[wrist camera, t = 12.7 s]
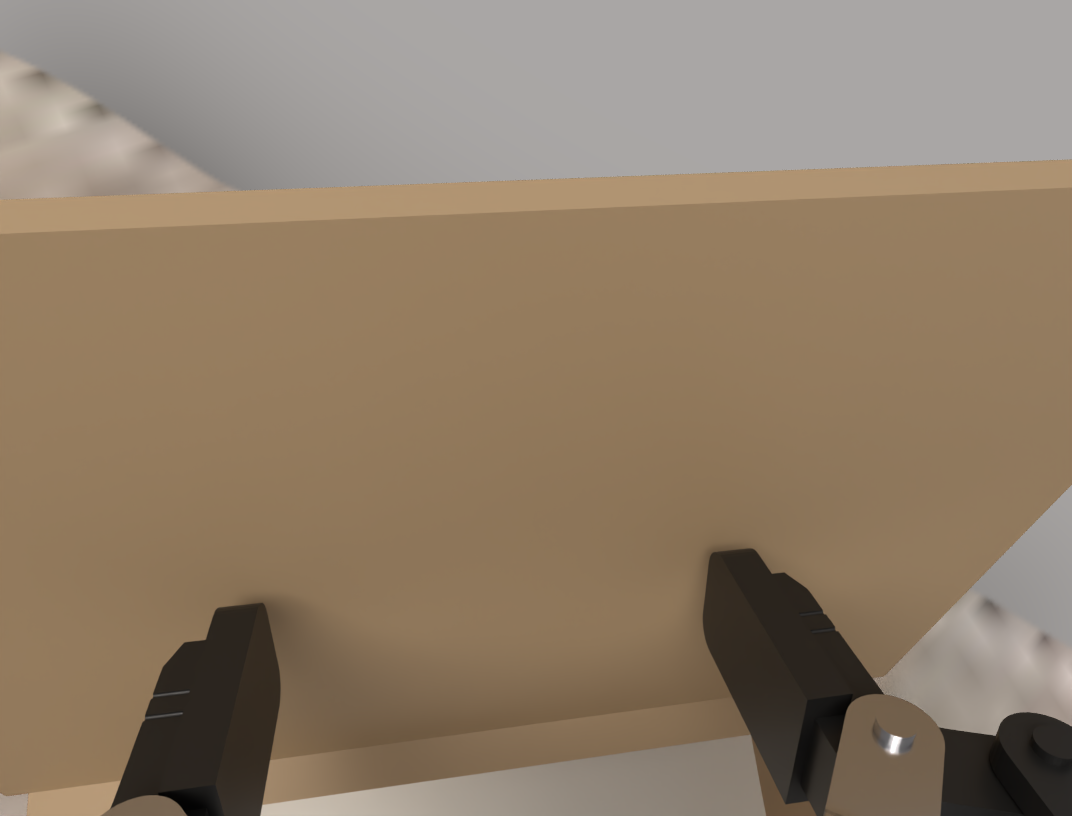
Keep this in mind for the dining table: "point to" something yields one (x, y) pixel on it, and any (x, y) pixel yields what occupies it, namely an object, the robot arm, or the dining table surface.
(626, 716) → the mailer box
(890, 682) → the dining table surface
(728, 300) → the lid
